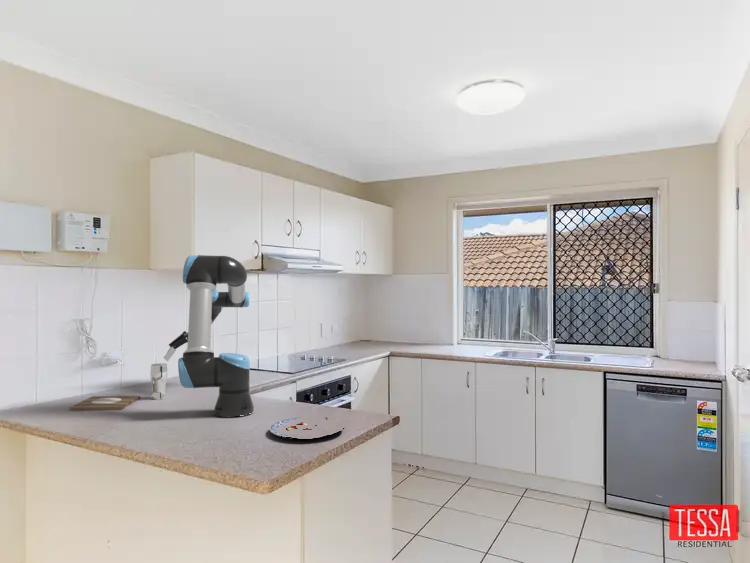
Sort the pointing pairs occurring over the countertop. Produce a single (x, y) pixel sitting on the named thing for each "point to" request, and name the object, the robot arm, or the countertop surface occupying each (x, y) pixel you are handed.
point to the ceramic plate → (274, 428)
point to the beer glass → (158, 381)
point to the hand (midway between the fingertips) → (176, 360)
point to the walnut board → (105, 403)
